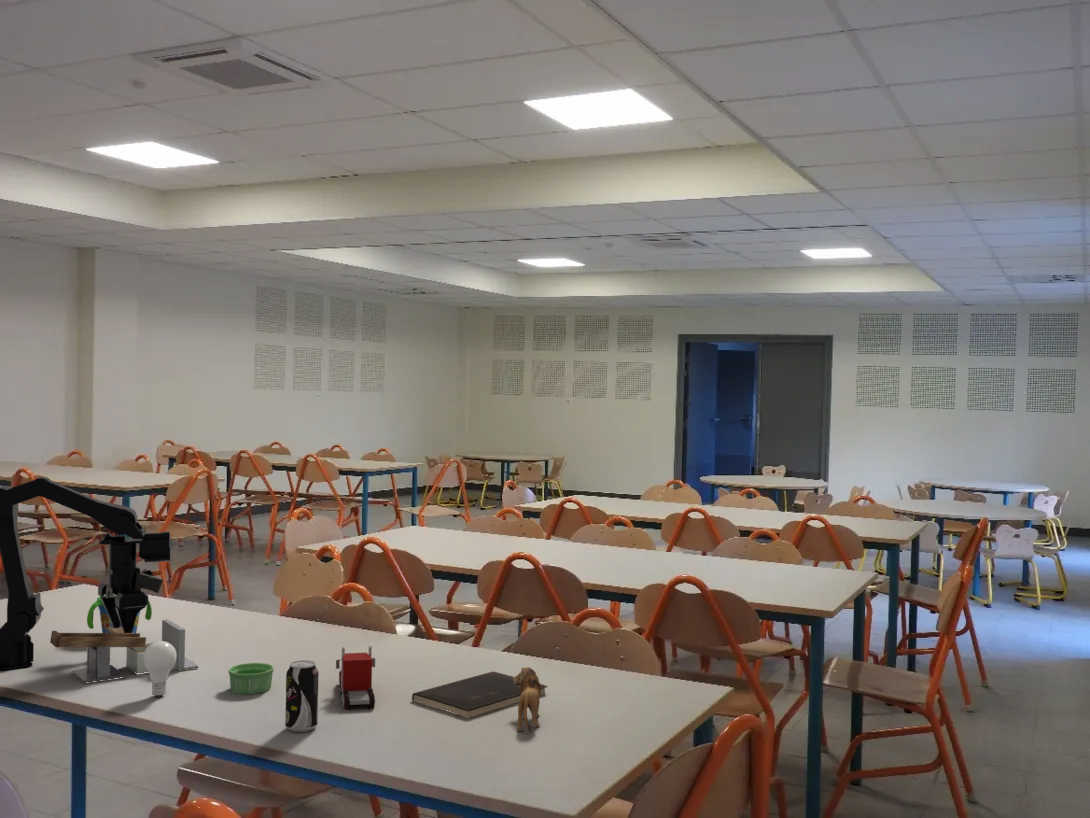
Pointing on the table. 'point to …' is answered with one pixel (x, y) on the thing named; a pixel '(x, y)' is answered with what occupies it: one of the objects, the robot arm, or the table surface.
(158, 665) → the lightbulb
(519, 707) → the lion figurine
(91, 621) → the snack cup
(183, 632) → the backboard
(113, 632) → the lever
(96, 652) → the fulcrum
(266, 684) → the ramekin
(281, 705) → the table surface
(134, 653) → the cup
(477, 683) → the hardcover book
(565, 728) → the table surface
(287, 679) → the beverage can
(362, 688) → the toy truck
